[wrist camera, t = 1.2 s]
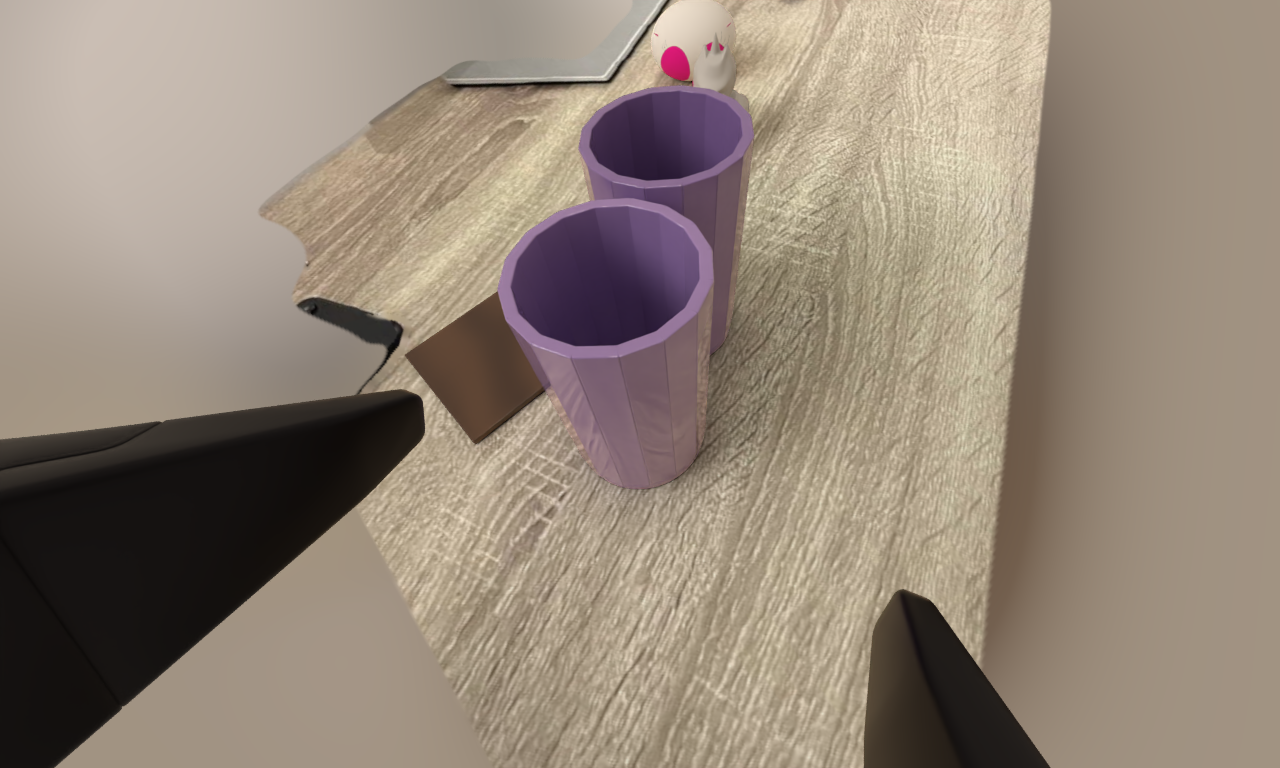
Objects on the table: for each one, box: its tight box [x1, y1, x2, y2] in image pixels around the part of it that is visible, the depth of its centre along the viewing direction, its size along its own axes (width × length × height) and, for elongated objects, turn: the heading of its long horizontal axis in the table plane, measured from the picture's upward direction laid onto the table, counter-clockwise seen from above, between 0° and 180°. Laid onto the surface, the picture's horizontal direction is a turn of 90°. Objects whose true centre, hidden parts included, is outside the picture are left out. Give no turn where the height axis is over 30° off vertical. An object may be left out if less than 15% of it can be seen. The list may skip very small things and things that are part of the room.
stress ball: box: [651, 0, 736, 83], centre depth 41 cm, size 8×8×7 cm
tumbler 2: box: [498, 198, 714, 489], centre depth 20 cm, size 7×7×12 cm
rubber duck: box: [693, 33, 749, 113], centre depth 34 cm, size 5×7×8 cm
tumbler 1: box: [578, 85, 754, 355], centre depth 23 cm, size 7×7×12 cm
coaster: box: [405, 291, 545, 444], centre depth 28 cm, size 8×8×1 cm
